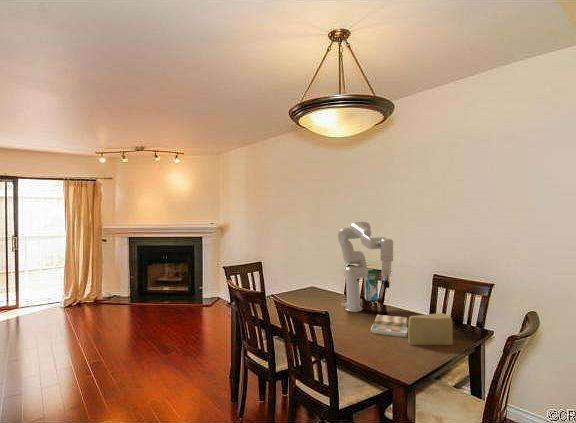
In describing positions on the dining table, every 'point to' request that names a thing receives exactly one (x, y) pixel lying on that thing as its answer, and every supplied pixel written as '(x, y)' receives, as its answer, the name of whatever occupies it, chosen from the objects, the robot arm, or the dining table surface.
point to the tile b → (395, 329)
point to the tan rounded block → (430, 330)
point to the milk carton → (371, 286)
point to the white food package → (391, 320)
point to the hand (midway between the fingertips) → (386, 287)
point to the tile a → (381, 328)
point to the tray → (389, 330)
